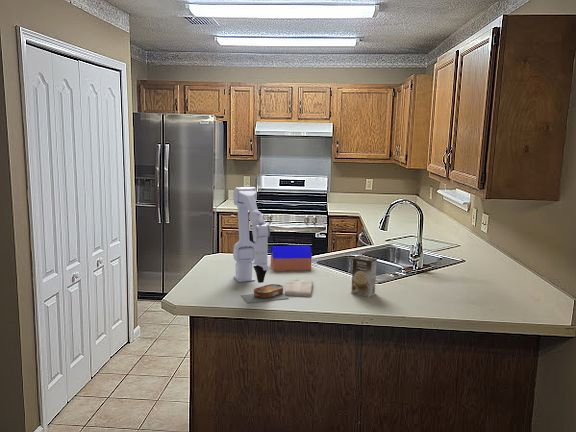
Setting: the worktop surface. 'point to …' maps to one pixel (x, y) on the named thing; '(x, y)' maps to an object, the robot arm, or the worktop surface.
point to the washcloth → (299, 288)
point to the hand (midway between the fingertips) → (260, 282)
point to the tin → (268, 291)
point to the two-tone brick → (291, 258)
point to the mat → (252, 299)
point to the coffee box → (364, 276)
